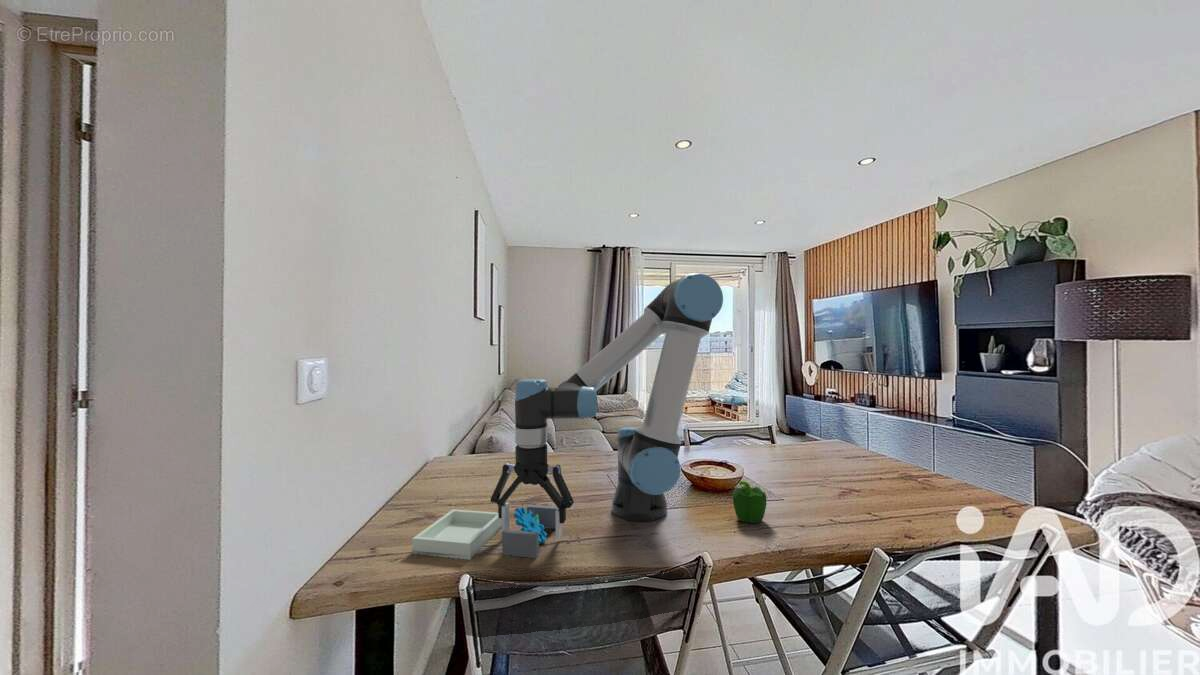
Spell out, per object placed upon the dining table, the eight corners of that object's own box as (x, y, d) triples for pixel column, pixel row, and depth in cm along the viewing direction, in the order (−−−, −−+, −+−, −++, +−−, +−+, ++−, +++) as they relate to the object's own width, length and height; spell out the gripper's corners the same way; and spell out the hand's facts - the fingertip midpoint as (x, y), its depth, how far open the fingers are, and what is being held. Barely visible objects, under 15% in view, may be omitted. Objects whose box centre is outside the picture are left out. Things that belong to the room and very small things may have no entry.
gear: (540, 545, 98) (511, 510, 100) (521, 563, 98) (493, 528, 100) (554, 531, 108) (528, 499, 111) (538, 547, 109) (512, 516, 111)
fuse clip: (558, 526, 111) (558, 506, 111) (536, 558, 95) (536, 535, 95) (529, 524, 113) (528, 504, 113) (502, 554, 97) (501, 532, 97)
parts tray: (503, 526, 112) (502, 512, 112) (470, 559, 95) (469, 543, 95) (453, 522, 114) (452, 509, 114) (412, 554, 98) (412, 538, 98)
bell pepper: (769, 517, 116) (768, 479, 116) (764, 529, 108) (764, 488, 108) (736, 511, 120) (735, 474, 120) (730, 522, 112) (729, 483, 112)
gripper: (585, 442, 105) (586, 531, 105) (490, 438, 110) (490, 523, 110) (577, 450, 98) (578, 545, 98) (475, 445, 103) (476, 536, 103)
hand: (531, 534), depth 104 cm, fingers open, 13 cm apart
